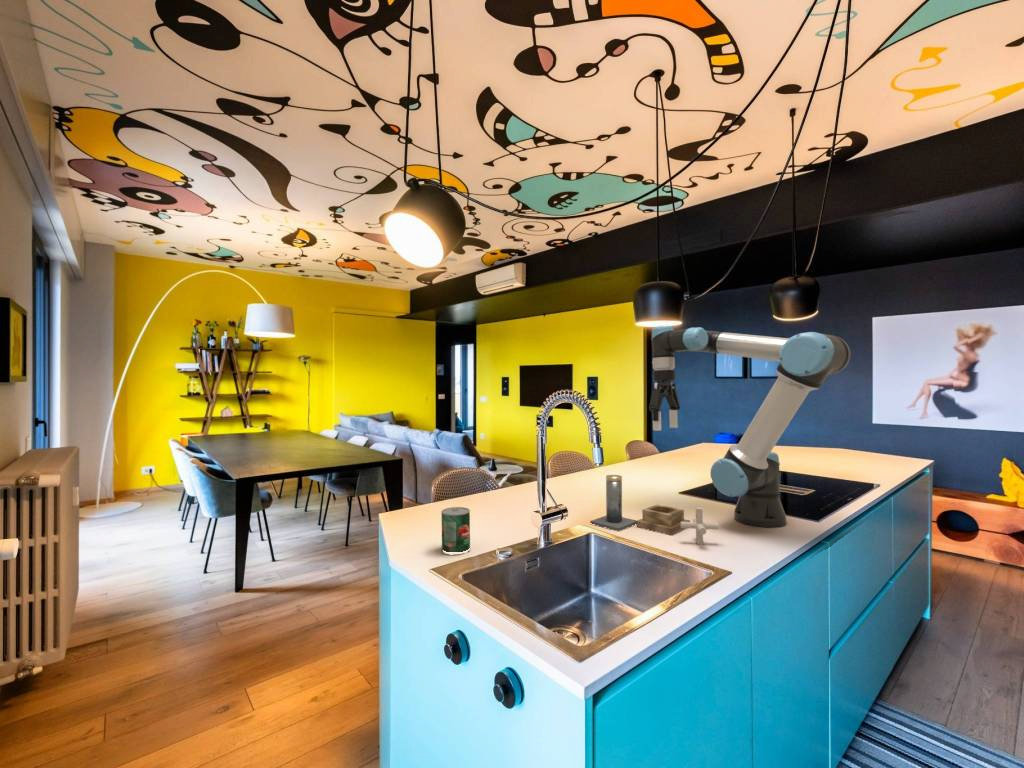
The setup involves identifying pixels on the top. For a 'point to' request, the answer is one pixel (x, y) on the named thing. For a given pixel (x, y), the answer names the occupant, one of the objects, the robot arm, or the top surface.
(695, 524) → the pipe connector
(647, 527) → the block
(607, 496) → the peg
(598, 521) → the pad
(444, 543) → the canned tomato
